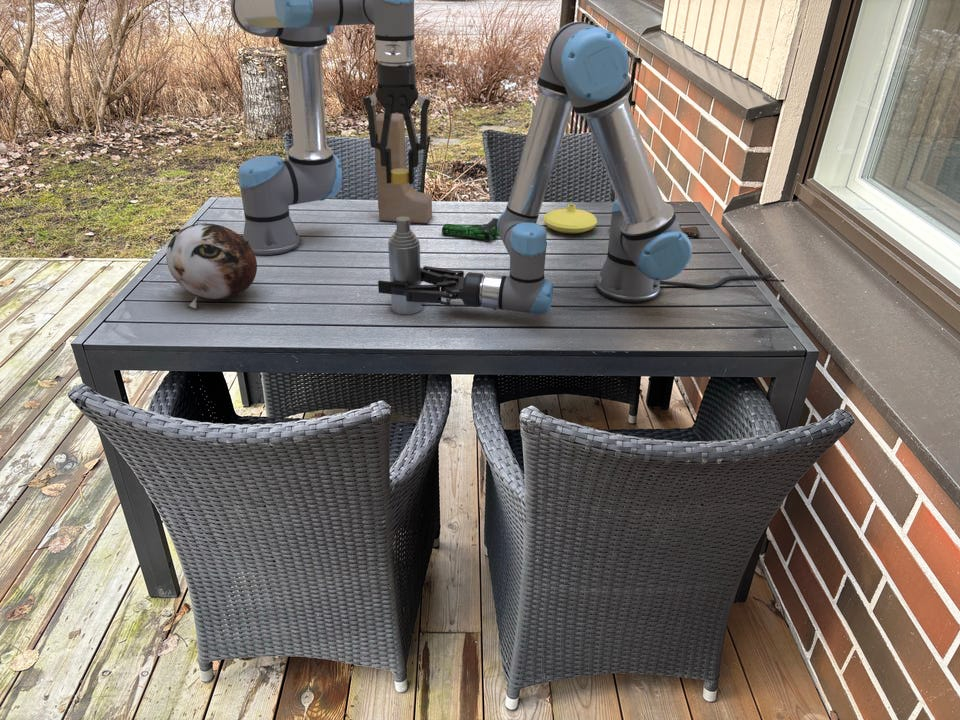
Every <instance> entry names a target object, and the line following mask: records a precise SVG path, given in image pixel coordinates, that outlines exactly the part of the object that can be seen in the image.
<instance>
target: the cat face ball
mask: <svg viewBox="0 0 960 720" xmlns="http://www.w3.org/2000/svg"><path fill="white" fill-rule="evenodd" d="M248 242H249V241H246V240H245V239H244V238H243V237H241V236H240V234H239V233H238V232H236V231H234V230H233V229H231V228H229V227H226V226H223V225H220V224H215V223H205V222H204V223H195V224H191V225H188V226H186V227H183V228H182V229H181V230H180V231H179V232H176V233H175V234H174V235H173V237H171V239H170V241H169V243H168V245H167V248H166V254H165V260H166V265H167V268H168V271H169V273H170V275H171V276H172V277H173V279H174V280H175V281H176V282H177V284H178V285H180V286H181V287H182V288H183V289H185V290H186V291H187V292H189V293H191V294H194V295H195V298H194V299H193V300H192V302H190V303H189V304H188V306H189V307H191V308H192V309H197V308H198V307H197V298H198V297H201V298H205V299H210V300H226V299H230V298H233V297H236V296H238V295H241V294H242V293H244V292H245V291H247V290H248V289H249V288H250V286H251V285H252V284H253V282H254V280H255V278H256V275H257V271H258V262H257V257H256V254H254V252H253V250H252V248H251V247H250V245H249V244H248Z"/></svg>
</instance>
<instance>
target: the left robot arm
mask: <svg viewBox="0 0 960 720" xmlns="http://www.w3.org/2000/svg"><path fill="white" fill-rule="evenodd" d="M230 13H231V15H232V16H231V17H232V18H233V20H234V22H235V23H236V25H237V26H238V27H239V28H240V29H241V30H242V31H245V32H246V33H248V34H251V35H253V36H255V37H256V36H257V37H262V38H278V39H277V40H278V44H279V45H280V46H281V48H283V49H284V51H285V57H286V58H285V59H286V68H287V69H286V70H287V80H288V92H289V107H290V116H291V117H290V119H291V129H292V140H293V141H292V143H293V145H292V146H291V147H290V148H289V149H288V159H287V160H283V158H282V157H281V156H279V155H273V154H270V155H260V156H257V157H253V158H250V159H248V160H245V161H244V162H243V163H241V165H240V166H239V167H238V170H237V174H238V186H239V190H240V196H241V201H242V208H243V212H244V213H243V215H244V219H245V220H244V226H243V228H244V229H243V234H242V235H240V234H239V235H240V236H241V237H243V238H244V239H245V240H246V241H249V242H248V244H249V245H250V247H251V248H252V250H253V252H254V254H255V256H256V255H257V256H275V255H281V254H282V255H283V254H285V253H289V252H291V251H293V250H296V249H297V248H298V247H299V246H300V244H301V241H300V235H299V233H298V231H297V229H296V227H295V225H294V223H293V220H292V218H291V216H290V207H289V206H293V205H299V204H306V203H312V202H318V201H320V202H321V201H325V200H327V199H332V198H334V197H336V196H337V195H338V194H339V193H340V191H341V189H342V185H343V169H342V168H341V166H342V165H341V161H340V160H339V158H338V157H337V155H335V154H334V152H333V149H332V148H331V147H330V146H328V143H327V129H326V128H327V125H326V110H325V109H326V107H325V92H324V91H325V90H324V74H323V73H324V71H323V56H322V55H323V54H322V52H323V49H324V48H326V47H327V46H328V36H330V35H332V34H333V33H334V32H335V29H336V26H338V27H339V26H358V25H359V26H360V25H361V26H362V25H372V26H374V42H375V43H374V44H375V59H376V61H377V62H378V64H377V65H376V82H377V87H376V90H375V92H374V93H373V94H370V95H368V94H367V95H366V96H364V98H363V101H362V102H363V104H364V106H365V109H366V113H367V120H368V121H367V122H368V132H369V143H370V147H371V148H372V149H375V148H376V149H378V150H379V151H380V159H381V166H386V177H387V183H391V175H390V174H391V170H392V164H391V149H387V146H388V145H387V144H388V137H389V131H390V124H391V118H392V114H403V117H404V121H405V129H406V131H407V136H408V140H409V144H410V148H409V150H408V152H407V159H408V160H407V162H408V163H407V164H408V170H409V184H410V185H413V184H414V182H415V168H418V166H419V163H420V155H419V152H420V151H421V150H426V149H427V146H428V126H429V125H428V123H429V122H428V121H429V116H428V115H429V108H430V105H431V102H432V98H431V97H429V96H424V95H422V94H420V93H419V90H418V88H417V75H416V71H417V70H416V65H415V64H414V62H415V61H416V40H415V0H230ZM377 100H378V102H379V103H380V105H381V106H382V108H383V109H384V112H383V113H384V122H383V128H382V135H381V142H380V141H378V133H377V122H376V116H377V114H376V113H377V112H376V105H377ZM416 102H418V107H419V108H420V124H419V125H420V126H419V127H420V128H419V129H420V131H419V133H420V134H419V140H420V141H419V142H418V137H417V133H416V128H415V123H414V119H413V113H412V107H413V106H414V104H415V103H416ZM180 230H182V229H180V228H173V229H171V230H170V231H169V232H168V235H173V234H174V233H178V232H179V231H180Z"/></svg>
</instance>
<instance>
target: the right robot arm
mask: <svg viewBox="0 0 960 720" xmlns="http://www.w3.org/2000/svg"><path fill="white" fill-rule="evenodd" d="M629 71H630V57H629V54H628V50H627V48H626V45H625V44H624V42H622V41H621V39H620V38H619V37H618V36H617V35H616V34H615V33H614V32H612V31H610V30H608V29H607V28H603V27H600V26H599V27H598V26H595V25H593V24H591V23H588V22H585V21H572V22H569V23H566V24H565V25H564V24H563V26H561V27H560V28H559V29H557V31H555V33H553V35H552V36H551V38H550V40H549V42H548V44H547V46H546V50H545V53H544V55H543V59H542V64H541V66H540V71H539V74H538V78H537V81H536V87H537V89H538V92H539V93H538V96H537V99H536V104H535V106H534V109H533V113H532V117H531V120H530V124H529V128H528V131H527V134H526V138H525V141H524V145H523V147H522V152H521V156H520V159H519V162H518V166H517V169H516V173H515V175H514V179H513V183H512V186H511V190H510V193H509V197H508V200H507V204H506V207H505V209H504V211H503V212H502V213H501V214H500V215H499V217H498V218H497V219H498V222H497V229H498V234H499V236H498V237H499V238H500V240H501V241H502V243H503V245H504V247H505V250H506V251H507V254H508V255H509V275H503V274H495V273H494V274H493V273H486V274H485V275H484V273H482V272H474V271H473V272H472V271H469V272H467V273H466V274H465V271H464V270H454V269H447V268H442V267H441V268H440V267H435V266H428V265H424V266H423V268H421V283H423V282H424V283H426V284H421V285H413V286H408V283H398V282H390V280H379V279H378V281H377V286H378V287H377V288H378V293H379V294H387V295H391V294H394V295H402V296H406V301H407V302H420V303H423V304H438V305H439V304H440V305H444V306H450V305H451V301H452V300H461V301H462V304H463V305H464V306H466V307H474V308H479V307H482V308H485V309H493V310H494V311H496V310H500V311H501V310H502V311H510V312H518V313H527V314H529V315H530V314H534V315H546V314H548V313H550V311H551V308H552V304H553V298H554V283H553V281H551V280H549V279H545V267H546V255H547V254H546V253H547V246H548V241H547V230H546V228H545V226H543V225H542V224H541V225H540V224H539V223H537V222H538V219H539V215H540V212H541V209H542V205H543V202H544V199H545V197H546V192H547V190H548V186H549V183H550V180H551V177H552V174H553V171H554V167H555V164H556V161H557V158H558V155H559V151H560V149H561V145H562V143H563V142H562V141H563V139H564V136H565V133H566V129H567V126H568V123H569V120H570V117H571V114H572V110H573V112H574V113H575V115H577V116H580V117H583V118H584V119H585V120H586V122H587V125H588V128H589V130H590V133H591V136H592V138H593V141H594V143H595V146H596V149H597V151H598V153H599V157H600V159H601V162H602V164H603V167H604V169H605V172H606V175H607V178H608V180H609V182H610V185H611V188H612V190H613V193H614V195H615V198H616V199H615V200H613V204H612V210H611V212H610V214H611V215H610V216H611V218H610V224H609V234H608V244H607V253H606V254H607V255H606V258H605V261H604V264H603V265H602V267H601V270H600V271H599V273H598V276H597V280H596V283H595V284H596V286H595V287H596V290H597V292H598V293H600V294H601V295H602V296H604V297H605V298H608V299H610V300H613V301H617V302H621V303H622V302H623V303H633V304H634V303H635V304H636V303H646V302H649V301H652V300H655V299H657V297H658V296H659V294H660V292H661V291H660V290H661V285H664V286H675V287H676V286H678V287H687V288H693V289H706V290H707V289H714V288H718V287H720V286H721V285H722V284H724V283H725V282H728V281H733V280H759V279H760V280H762V279H770V278H771V279H772V278H773V277H772V276H771V274H772V273H768V274H757V275H758V276H759V277H758V276H757V275H750V276H748V275H749V274H747V275H746V274H745V275H743V274H742V275H741V274H740V275H729V276H726V277H723V278H722V279H720V280H719V281H718V282H717V283H712V284H696V283H690V282H679V281H670V279H672V278H674V277H676V276H678V275H679V274H681V273H682V272H683V271H684V270H685V269H686V268H687V265H688V264H689V262H690V261H691V259H692V256H693V245H692V242H691V240H690V238H689V236H688V237H687V235H686V234H684V233H682V231H681V229H680V226H679V225H680V223H679V221H678V218H677V215H676V212H675V210H674V209H675V208H674V207H673V206H672V205H671V204H670V203H668V202H667V203H666V202H665V201H664V200H663V197H662V195H661V191H660V189H659V186H658V183H657V180H656V177H655V174H654V172H653V169H652V166H651V162H650V160H649V157H648V153H647V151H646V147H645V146H644V142H643V139H642V137H641V134H640V131H639V128H638V125H637V122H636V119H635V116H634V114H633V110H632V108H631V105H630V102H629V96H630V94H631V92H632V90H633V85H632V82H631V80H630V76H629ZM668 280H669V281H668Z"/></svg>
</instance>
